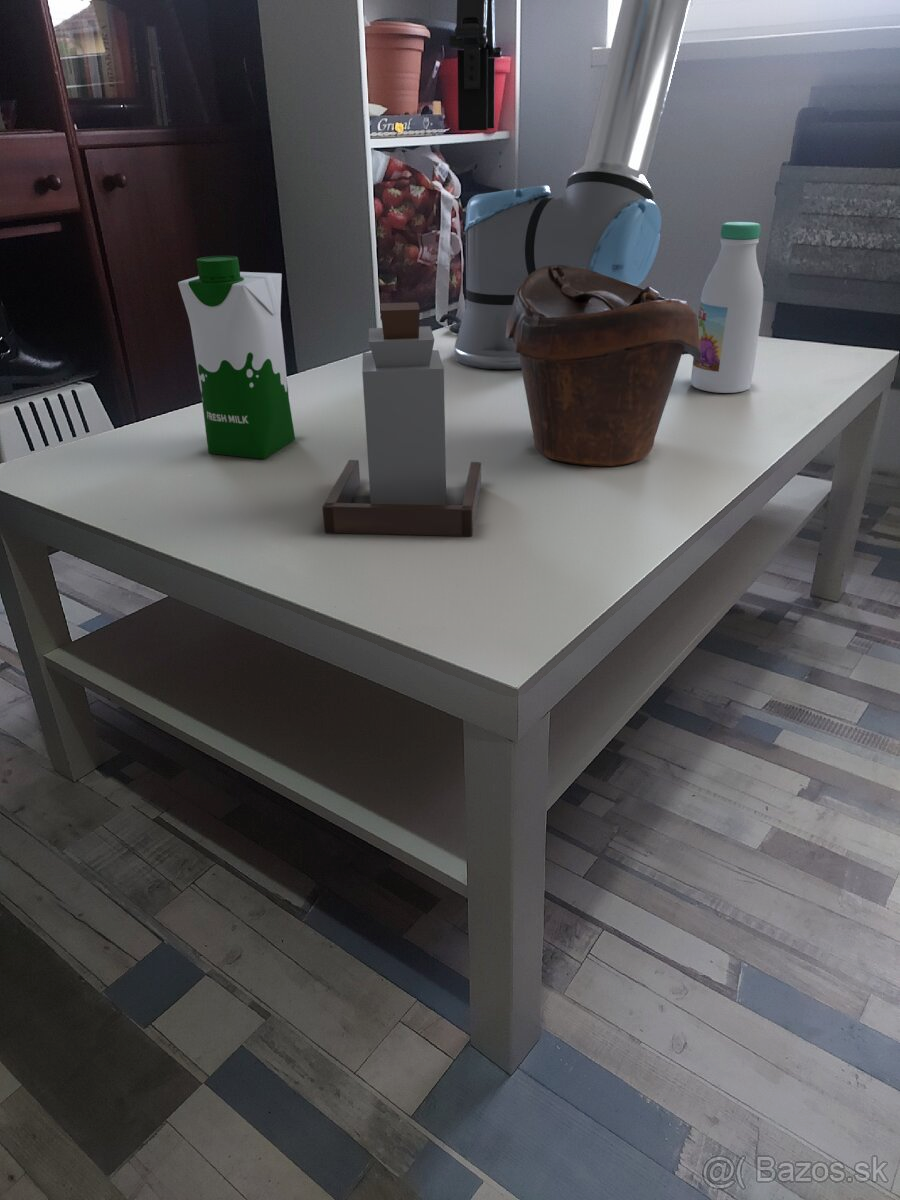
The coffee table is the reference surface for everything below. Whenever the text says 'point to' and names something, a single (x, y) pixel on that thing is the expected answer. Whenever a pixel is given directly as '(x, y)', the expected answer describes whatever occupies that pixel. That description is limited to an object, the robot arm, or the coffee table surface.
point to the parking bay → (399, 510)
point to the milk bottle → (730, 313)
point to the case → (597, 362)
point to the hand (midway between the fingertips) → (477, 129)
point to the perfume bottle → (404, 410)
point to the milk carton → (239, 357)
